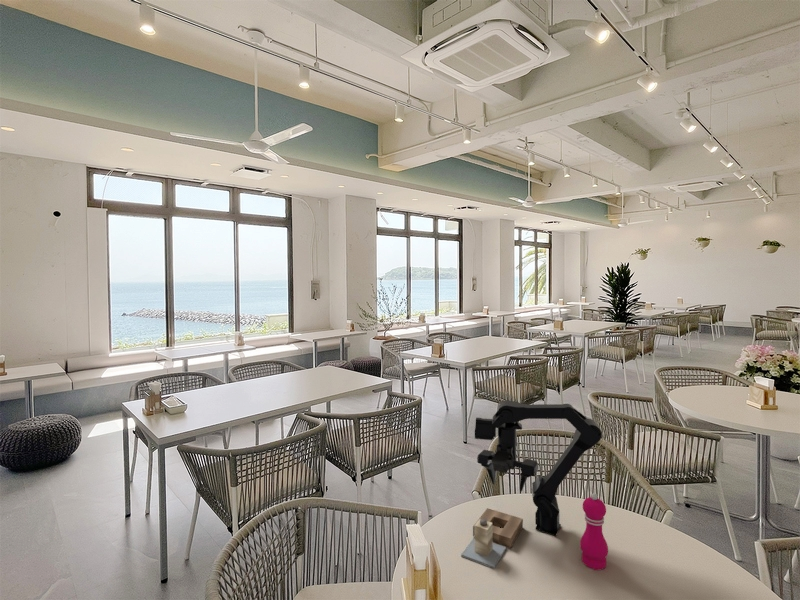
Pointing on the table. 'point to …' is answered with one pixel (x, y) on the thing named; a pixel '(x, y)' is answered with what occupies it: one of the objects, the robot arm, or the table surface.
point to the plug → (483, 537)
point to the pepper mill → (594, 534)
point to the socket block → (503, 526)
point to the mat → (482, 559)
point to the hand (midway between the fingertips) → (507, 487)
